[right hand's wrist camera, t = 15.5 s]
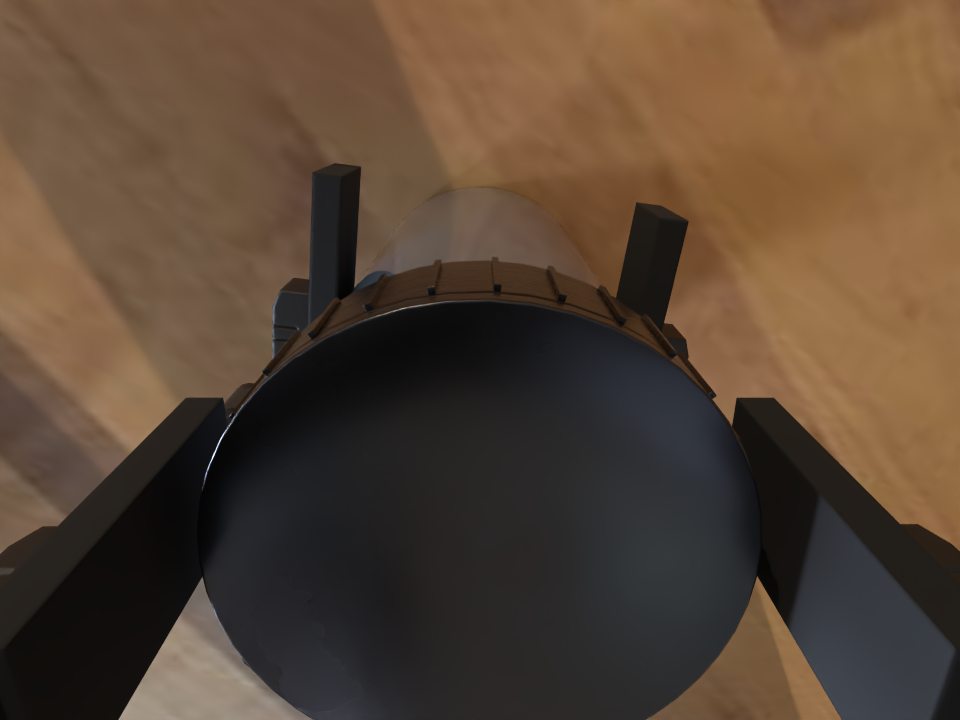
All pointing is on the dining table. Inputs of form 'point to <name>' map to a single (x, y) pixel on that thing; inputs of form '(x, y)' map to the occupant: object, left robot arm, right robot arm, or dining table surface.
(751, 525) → the lid
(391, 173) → the dining table surface
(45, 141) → the dining table surface
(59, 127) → the dining table surface
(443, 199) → the jar
